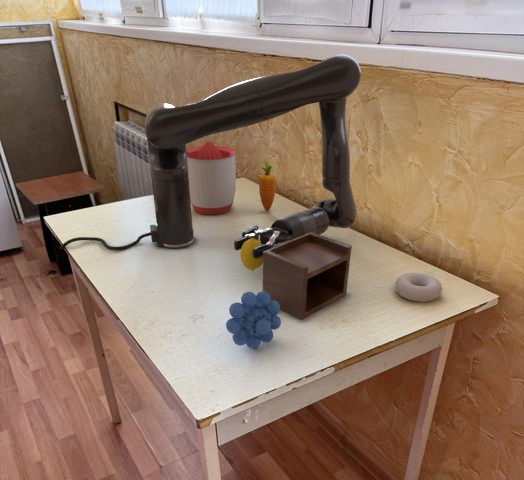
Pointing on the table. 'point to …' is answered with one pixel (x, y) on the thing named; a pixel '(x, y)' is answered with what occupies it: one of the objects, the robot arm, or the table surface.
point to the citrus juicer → (211, 178)
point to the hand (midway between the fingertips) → (244, 249)
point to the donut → (418, 287)
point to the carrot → (267, 187)
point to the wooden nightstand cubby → (306, 273)
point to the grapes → (253, 319)
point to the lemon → (250, 254)
